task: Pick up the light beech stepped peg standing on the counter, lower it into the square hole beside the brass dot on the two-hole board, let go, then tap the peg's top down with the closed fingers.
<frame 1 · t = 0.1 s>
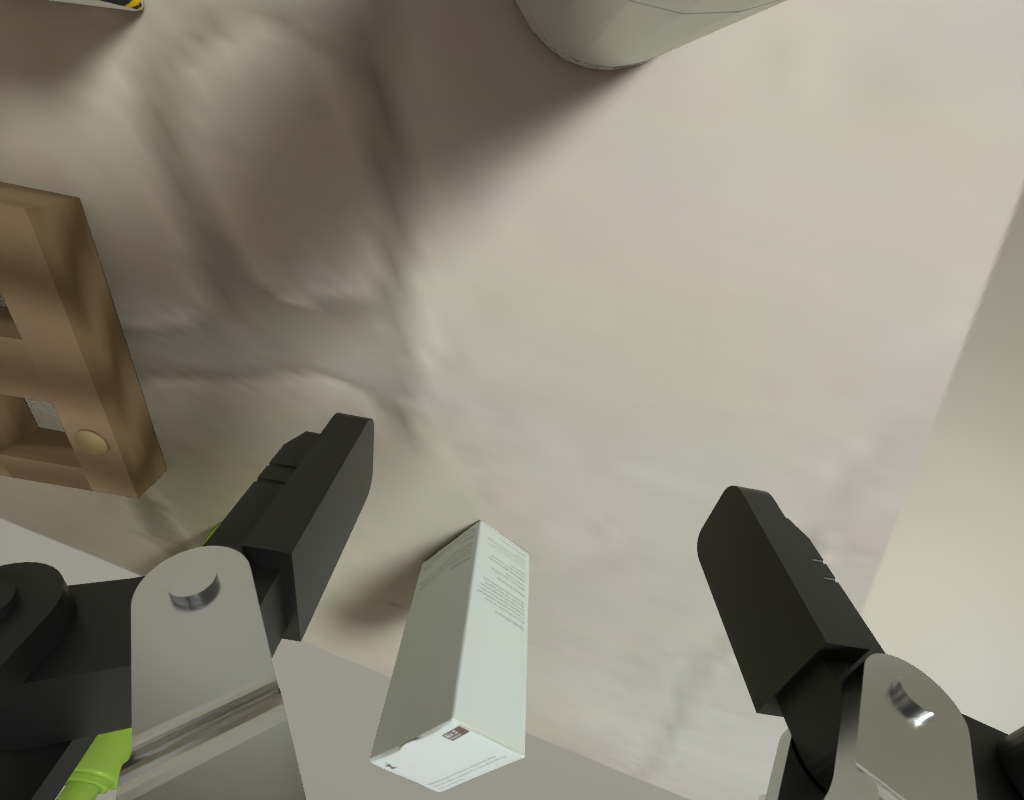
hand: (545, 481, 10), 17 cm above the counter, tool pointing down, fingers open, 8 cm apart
board: (36, 341, 29), on the counter
soap dispenser: (246, 536, 39), on the counter
skincare box: (475, 552, 39), on the counter
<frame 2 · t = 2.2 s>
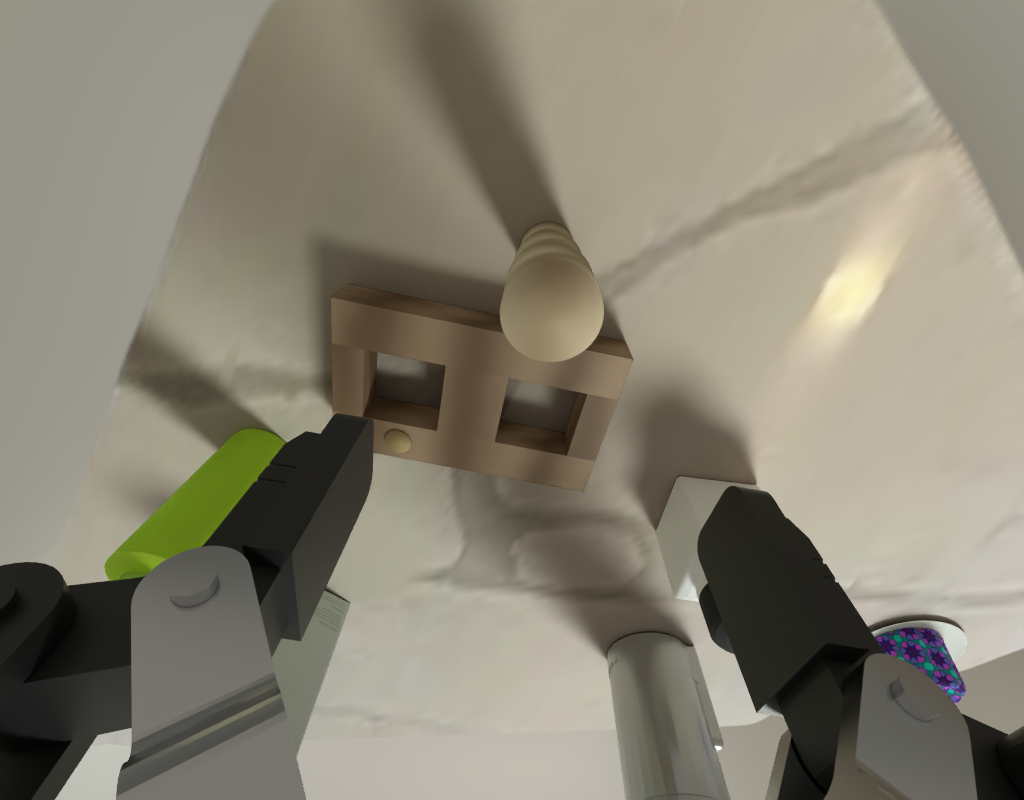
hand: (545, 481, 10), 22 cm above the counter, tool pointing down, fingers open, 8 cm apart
medicine bottle: (703, 507, 40), on the counter
peg: (547, 251, 29), on the counter
board: (476, 385, 35), on the counter
soap dispenser: (269, 452, 40), on the counter
skincare box: (311, 596, 50), on the counter
pudding: (897, 645, 50), on the counter
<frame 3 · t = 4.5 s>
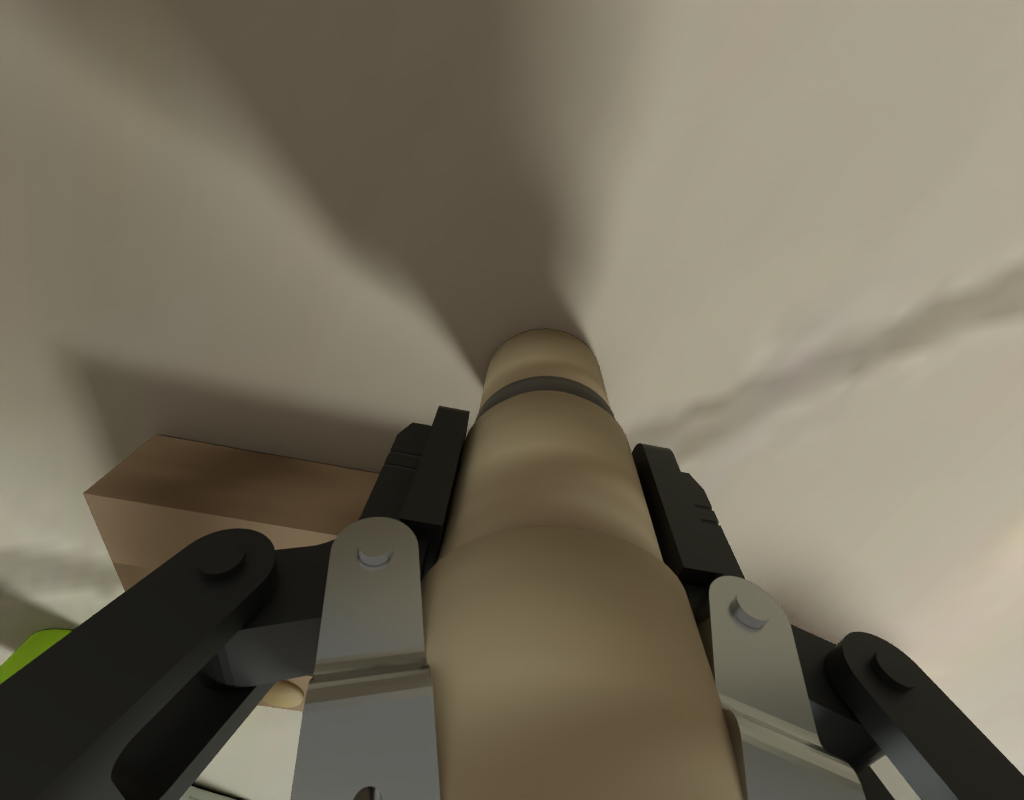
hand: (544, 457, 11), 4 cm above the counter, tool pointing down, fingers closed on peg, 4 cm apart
medicine bottle: (797, 731, 25), on the counter
peg: (543, 382, 14), on the counter, touching gripper
board: (420, 584, 20), on the counter
soap dispenser: (98, 655, 25), on the counter
skincare box: (212, 798, 35), on the counter
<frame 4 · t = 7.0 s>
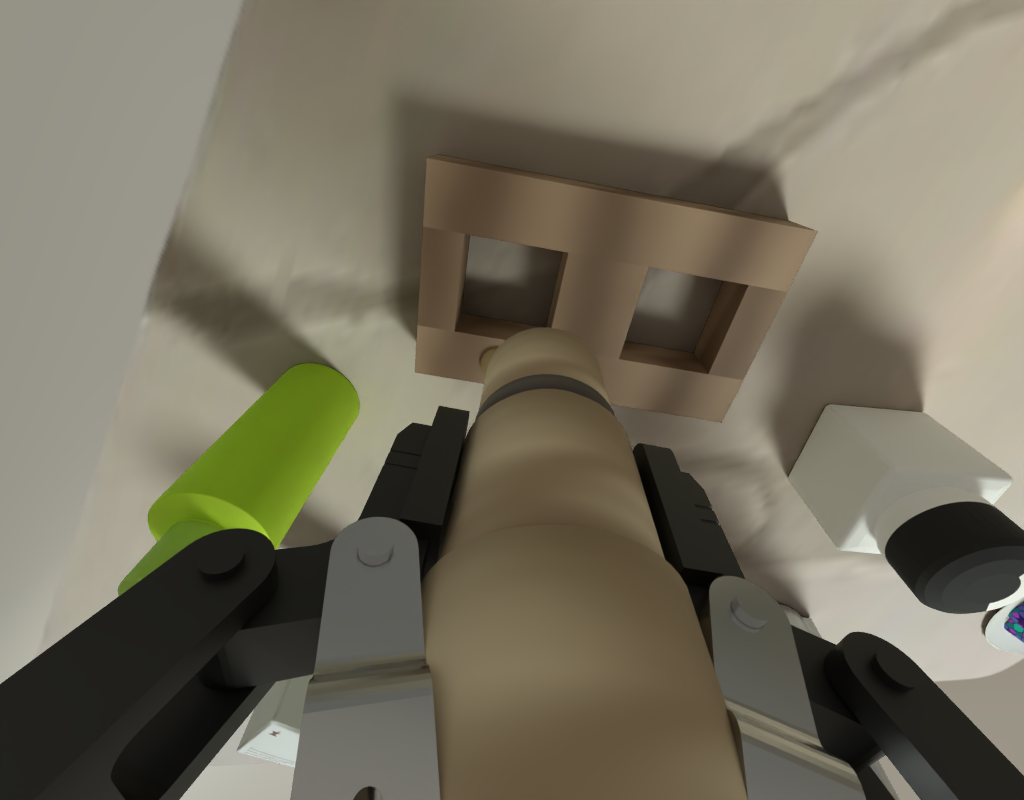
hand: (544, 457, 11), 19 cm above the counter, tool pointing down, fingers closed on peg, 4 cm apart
medicine bottle: (849, 444, 33), on the counter
peg: (543, 381, 14), point 15 cm above the counter, touching gripper
board: (589, 292, 28), on the counter
soap dispenser: (327, 395, 33), on the counter
skincare box: (369, 572, 44), on the counter
when the fingers open (5 cm above the counter, at t = 9.4 s): peg drops 1 cm, resting in board.
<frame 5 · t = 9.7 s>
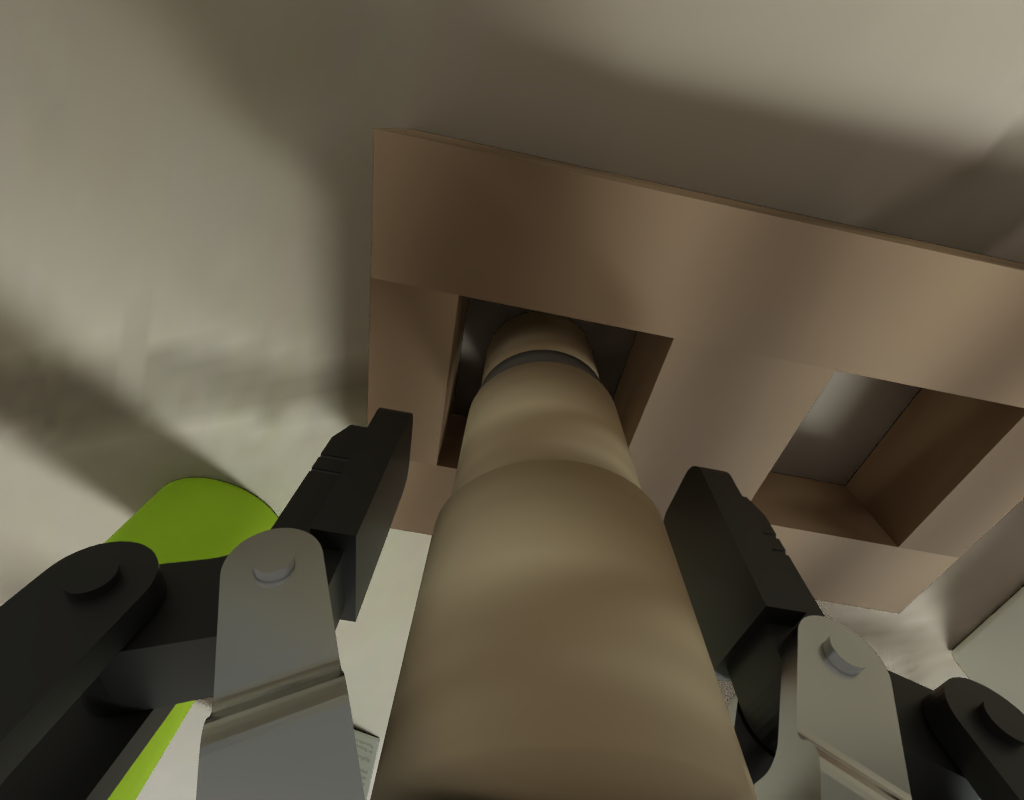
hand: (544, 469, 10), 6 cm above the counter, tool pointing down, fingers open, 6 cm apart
peg: (538, 361, 15), resting in board
board: (682, 388, 16), on the counter
soap dispenser: (233, 520, 21), on the counter
skincare box: (317, 727, 31), on the counter
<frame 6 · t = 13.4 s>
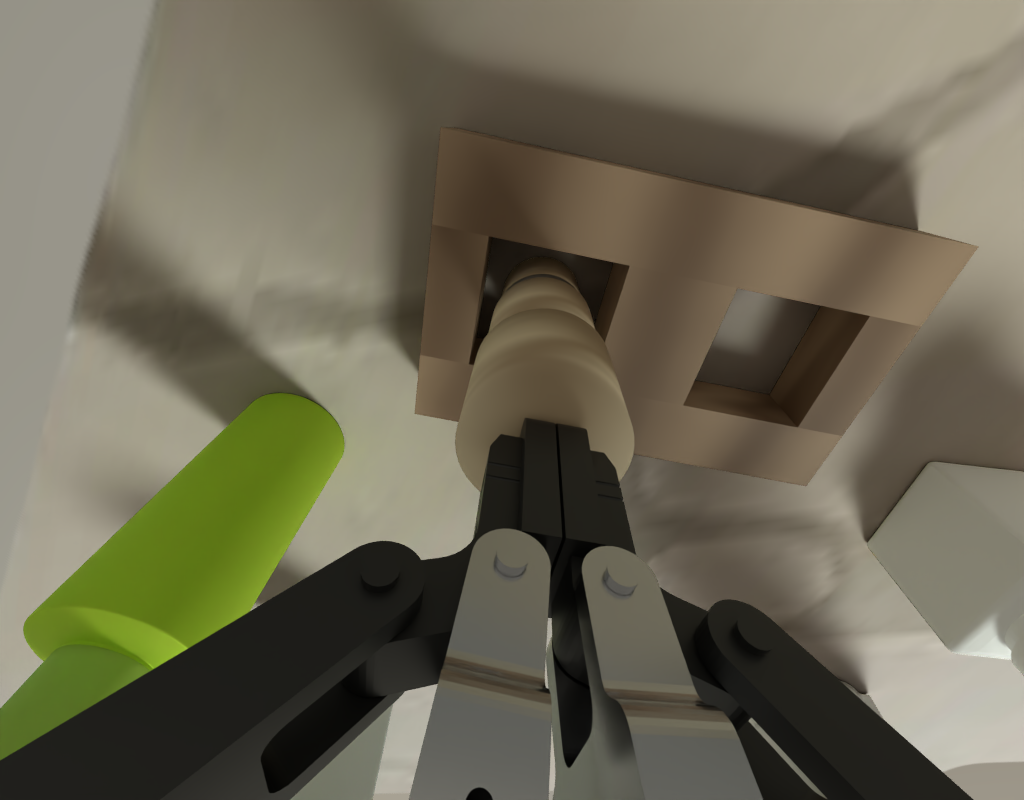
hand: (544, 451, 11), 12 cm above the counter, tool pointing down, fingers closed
medicine bottle: (948, 508, 27), on the counter
peg: (540, 295, 21), resting in board, touching gripper
board: (644, 316, 22), on the counter
soap dispenser: (304, 431, 26), on the counter
skincare box: (353, 630, 37), on the counter
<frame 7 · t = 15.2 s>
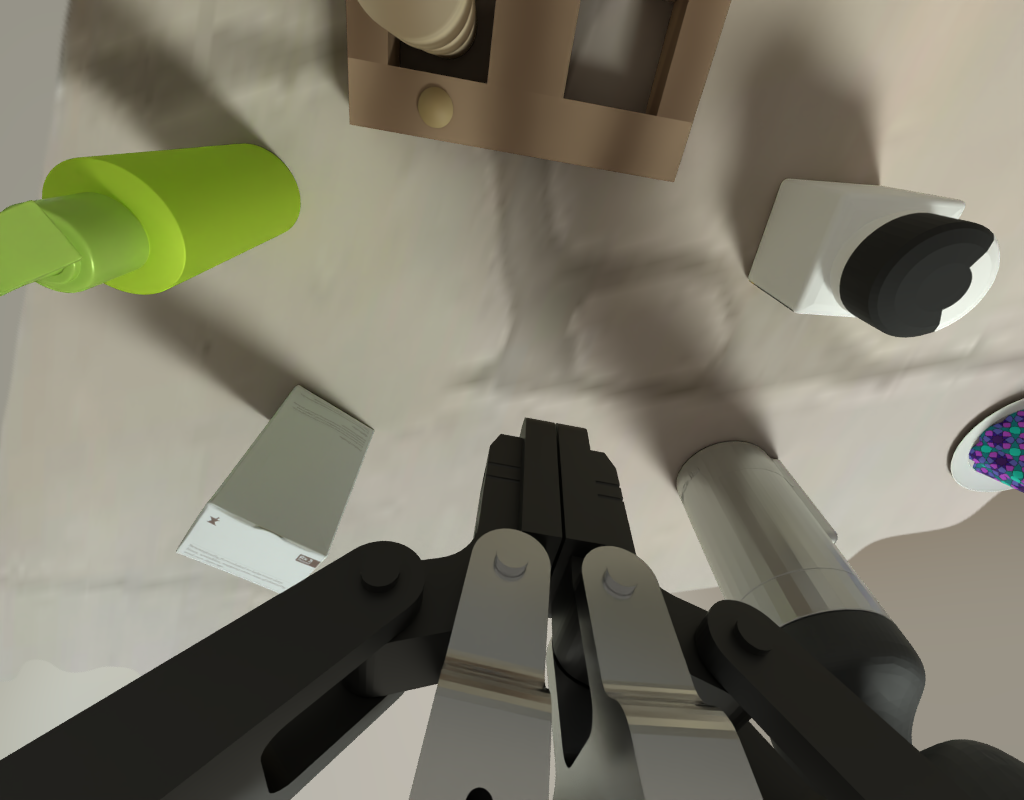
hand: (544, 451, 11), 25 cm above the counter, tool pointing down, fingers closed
medicine bottle: (808, 235, 33), on the counter
peg: (446, 20, 26), resting in board
board: (532, 37, 27), on the counter
soap dispenser: (265, 188, 31), on the counter
skincare box: (327, 424, 42), on the counter
pudding: (1013, 438, 43), on the counter
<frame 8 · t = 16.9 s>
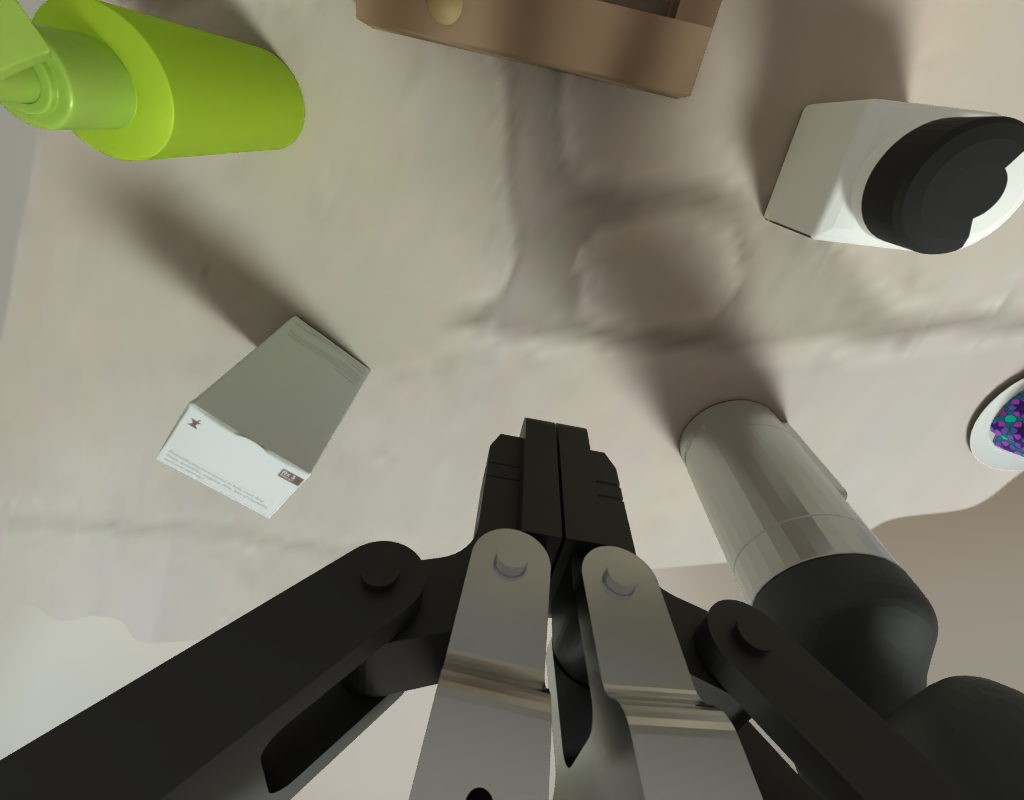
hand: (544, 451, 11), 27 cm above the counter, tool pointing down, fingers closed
medicine bottle: (829, 170, 31), on the counter
soap dispenser: (269, 97, 31), on the counter
skincare box: (323, 362, 41), on the counter
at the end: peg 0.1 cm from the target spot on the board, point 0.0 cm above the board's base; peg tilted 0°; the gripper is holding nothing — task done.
